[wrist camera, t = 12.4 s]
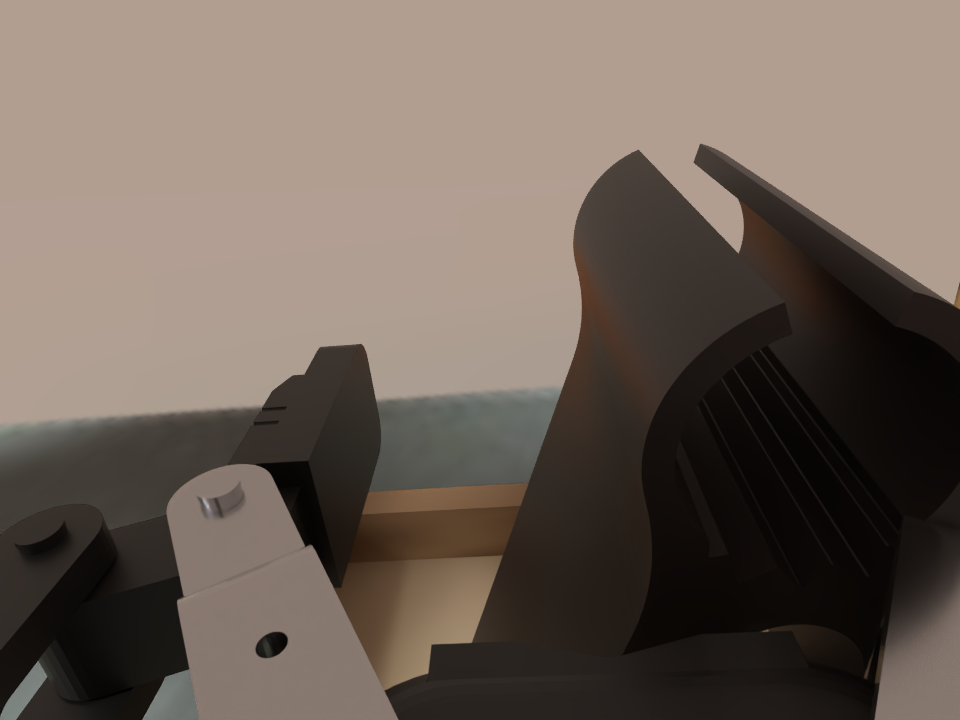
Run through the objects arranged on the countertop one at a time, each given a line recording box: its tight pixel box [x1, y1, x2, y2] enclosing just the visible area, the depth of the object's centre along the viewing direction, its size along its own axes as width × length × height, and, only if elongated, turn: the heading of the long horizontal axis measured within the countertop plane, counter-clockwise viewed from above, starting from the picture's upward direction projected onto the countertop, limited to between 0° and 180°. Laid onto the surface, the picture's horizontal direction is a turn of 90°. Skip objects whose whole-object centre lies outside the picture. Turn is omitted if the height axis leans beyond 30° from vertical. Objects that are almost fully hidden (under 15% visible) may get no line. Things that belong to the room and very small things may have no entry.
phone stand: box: [472, 144, 960, 678], centre depth 10 cm, size 9×6×12 cm, turn 88°
